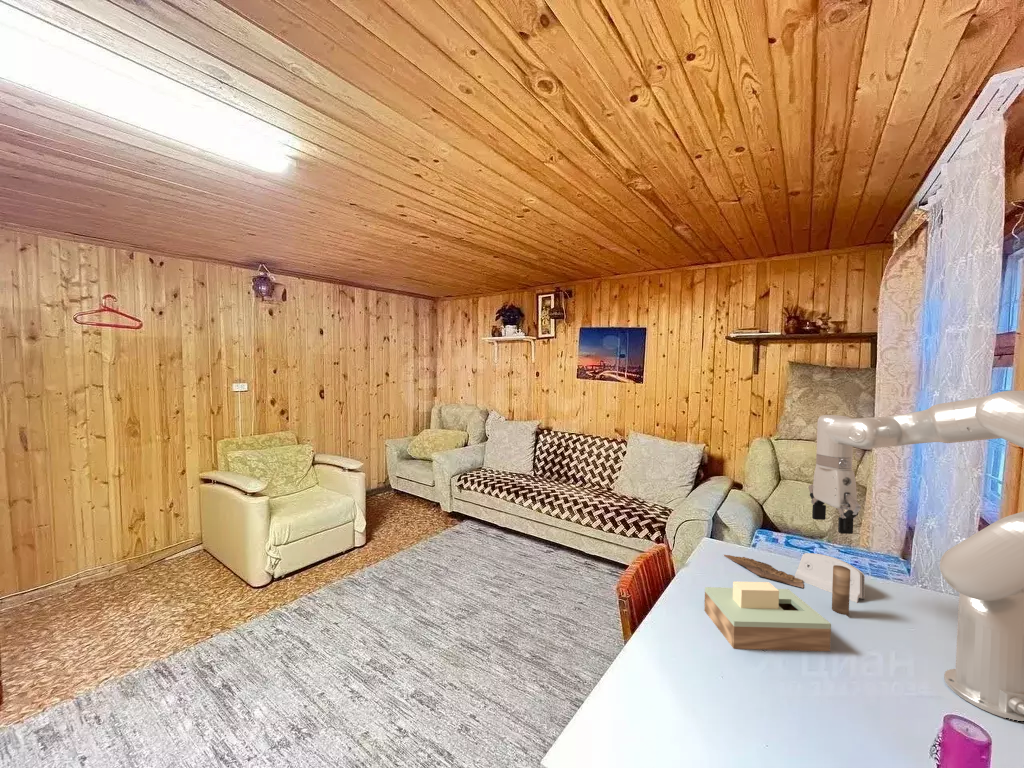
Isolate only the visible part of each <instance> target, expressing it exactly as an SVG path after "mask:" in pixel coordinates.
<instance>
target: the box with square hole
mask: <svg viewBox="0 0 1024 768" xmlns="http://www.w3.org/2000/svg"><path fill="white" fill-rule="evenodd" d="M779 606H780V607H781V608H782V609H783V610H794V611H799V610H798V609H796V608H795V607H794V606H793V605H792V604H779ZM703 611H704V612H705V613H706V615H707V616H708V617H709V619H710V620H711V622H712V623H713V624H714V625H715V627H716V628H717V629H718V630H719V632H720V634H721V635H722V636H723V637H724V638H725V640H727V642H728V644H729V645H730V646H731V648H732V649H733V650H735V649H738V650H764V651H766V650H767V651H768V650H769V651H771V650H772V651H773V650H774V651H807V652H808V651H809V652H810V651H811V652H814V651H815V652H831V633H832V628H831V629H816V628H776V627H735V626H733V624H732V623H731V622H730V621H729V620H728V618H727V617H726V616H725V615H724V614H723V613H722V611H721V610H720V609H719V608H718V607H717V605H716V604H715V603H714V602H713V601H712V599H711V598H710V597H709V596H708V595H707V593H706V592H705V591H704V609H703Z"/></svg>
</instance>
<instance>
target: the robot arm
mask: <svg viewBox="0 0 1024 768" xmlns="http://www.w3.org/2000/svg"><path fill="white" fill-rule="evenodd" d="M816 426H817V428H816V451H815V452H816V453H815V454H816V456H815V458H816V459H815V468H814V473H813V481H812V484H810V485H808V491H809V497H810V498H811V501H810V503H811V505H812V512H811V514H812V515H811V516H812V517H811V518H812V519H813V520H819V521H825V520H827V519H826V517H827V516H826V515H827V505H828V506H830V507H832V508H835V509H837V511H838V513H839V517H838V520H837V521H838V523H837V524H838V525H837V533H840V534H842V535H843V534H845V535H847V534H848V535H852V534H854V520H855V519H856V518H857V516H858V515H859V513H860V510H861V508H862V506H861V504H860V503H859V502H858V501H857V499H858V498H857V497H858V495H857V494H858V493H857V483H856V482H857V480H856V475H855V471H854V470H853V457H854V451H853V450H854V448H856V449H861V450H871V449H879V448H889V447H898V446H900V447H901V446H909V445H917V444H918V445H919V444H928V443H942V444H955V443H963V442H964V443H967V442H975V441H977V442H978V441H986V440H997V439H1003V440H1005V441H1007V442H1010V443H1012V444H1014V445H1016V446H1018V447H1020V448H1022V449H1024V390H1021V389H1020V390H1002V391H998V392H994V393H991V394H990V395H987V396H982V397H981V396H980V397H975V398H968V399H964V400H963V399H962V400H955V401H950V402H942V403H937V404H935V405H934V404H933V405H931V406H930V407H929V408H927V409H923V410H919V411H914V412H909V413H907V412H906V413H902V414H894V415H888V416H875V417H863V418H862V417H859V418H856V417H855V418H851V416H847V415H841V414H840V415H839V414H838V415H837V414H836V415H835V414H822V415H820V416H819V417H818V418H817V423H816ZM844 510H846V511H844ZM939 570H940V573H941V576H942V577H943V579H944V580H945V582H946V583H947V584H948V585H949V586H950V587H951V588H952V589H954V590H955V591H956V592H958V593H959V594H958V595H959V597H958V608H957V625H956V626H957V628H956V631H957V632H956V633H957V634H956V651H955V654H956V655H955V668H951V669H947V670H946V671H945V672H944V675H943V677H944V683H945V684H946V685H947V686H948V688H949V689H950V690H951V691H953V693H955V695H957V696H959V697H960V698H961V699H962V700H965V701H966V702H968V703H969V704H971V705H973V706H975V707H977V708H978V709H981V710H983V711H986V712H987V713H989V714H993V715H995V716H997V717H1000V718H1004V719H1006V718H1009V719H1008V720H1010V719H1014V720H1019V721H1024V511H1020V512H1017V513H1013V514H1010V515H1007V516H1005V517H1002V518H1000V519H998V520H996V521H994V522H993V523H990V524H989V525H987V526H986V527H984V528H982V529H981V530H979V531H977V532H975V534H972V535H971V536H969V537H967V538H966V539H964V540H962V541H961V542H959V543H958V544H956V545H954V546H952V547H951V548H949V549H948V550H947V551H945V552H944V553H943V554H942V556H941V558H940V561H939ZM1014 720H1013V721H1014Z"/></svg>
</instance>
